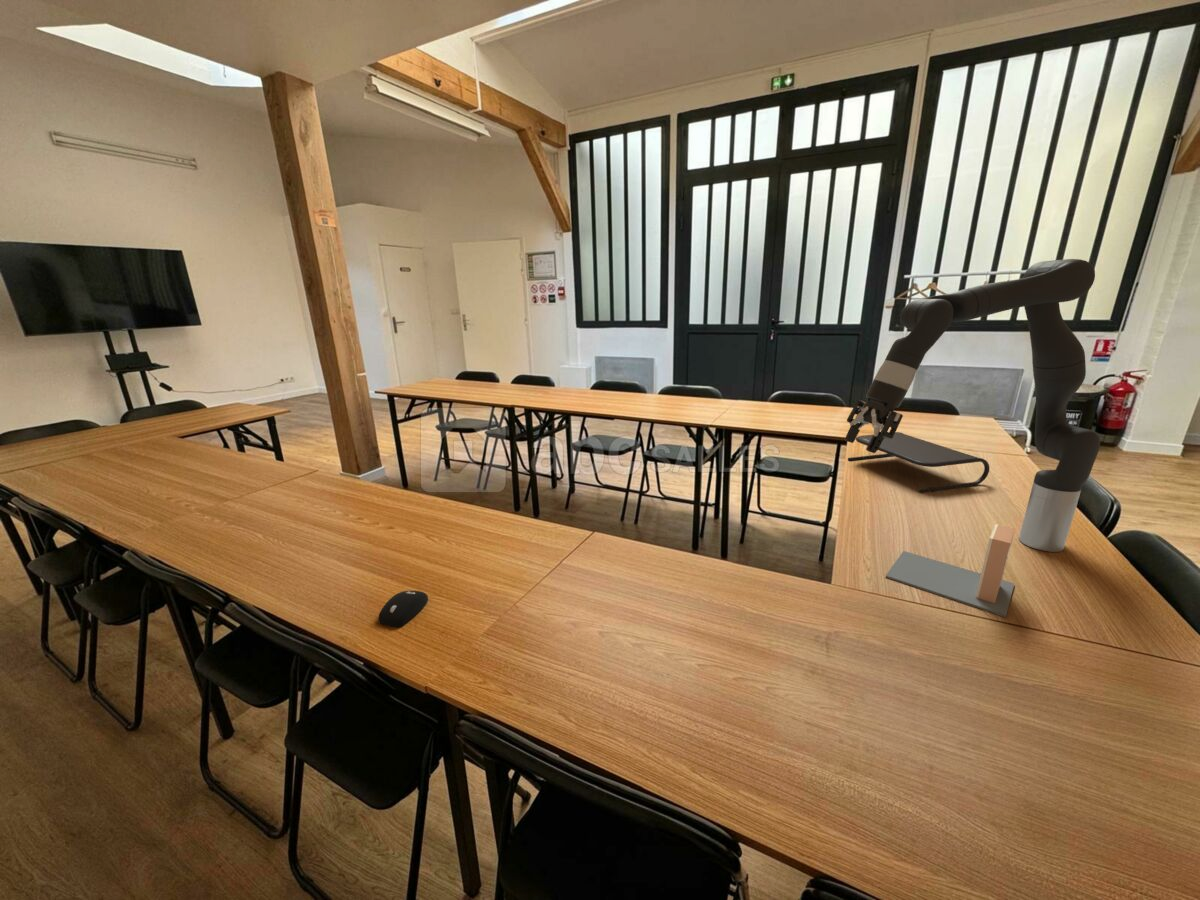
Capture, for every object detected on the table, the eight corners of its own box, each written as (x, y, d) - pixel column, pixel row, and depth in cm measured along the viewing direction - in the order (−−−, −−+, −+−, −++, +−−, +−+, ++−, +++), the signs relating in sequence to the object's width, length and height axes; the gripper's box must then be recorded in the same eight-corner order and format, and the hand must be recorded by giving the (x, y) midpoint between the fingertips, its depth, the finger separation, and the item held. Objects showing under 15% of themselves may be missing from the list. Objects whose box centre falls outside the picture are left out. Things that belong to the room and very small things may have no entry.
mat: (903, 552, 128) (903, 550, 128) (1014, 585, 112) (1014, 583, 112) (885, 577, 117) (885, 575, 117) (1005, 617, 102) (1006, 615, 101)
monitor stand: (846, 460, 199) (850, 436, 196) (903, 454, 205) (907, 430, 201) (920, 494, 165) (926, 464, 161) (987, 485, 170) (993, 456, 167)
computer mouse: (436, 599, 115) (434, 585, 114) (401, 630, 104) (398, 615, 103) (411, 594, 117) (408, 580, 116) (374, 624, 107) (371, 609, 105)
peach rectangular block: (981, 580, 114) (995, 523, 109) (1000, 586, 111) (1015, 528, 107) (975, 597, 108) (989, 538, 103) (994, 603, 105) (1010, 543, 101)
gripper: (926, 394, 105) (891, 460, 110) (884, 383, 119) (854, 442, 123) (899, 383, 104) (864, 451, 108) (859, 374, 118) (829, 434, 122)
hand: (859, 446), depth 116 cm, fingers open, 8 cm apart
